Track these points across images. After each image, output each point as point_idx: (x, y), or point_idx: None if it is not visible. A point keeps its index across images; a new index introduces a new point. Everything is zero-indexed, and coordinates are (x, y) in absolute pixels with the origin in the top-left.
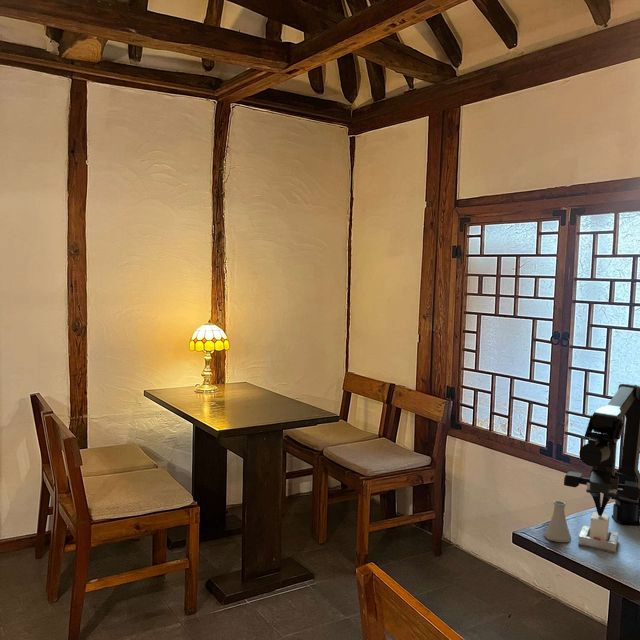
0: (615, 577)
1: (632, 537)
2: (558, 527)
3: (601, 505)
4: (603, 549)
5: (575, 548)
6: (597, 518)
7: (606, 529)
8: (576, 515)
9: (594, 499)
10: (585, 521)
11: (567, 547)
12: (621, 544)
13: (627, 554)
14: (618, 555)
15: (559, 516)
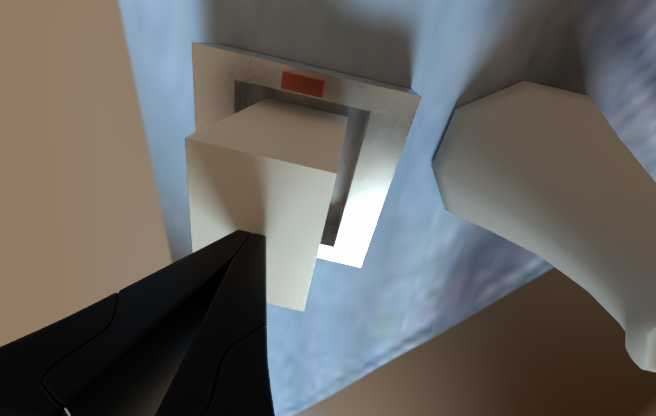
0: None
1: None
2: (577, 132)
3: (179, 299)
4: (277, 57)
5: (440, 24)
6: (275, 182)
7: (224, 119)
8: (358, 375)
9: (252, 399)
10: (334, 344)
11: (491, 19)
12: None
13: (162, 61)
14: (200, 19)
15: (631, 187)
